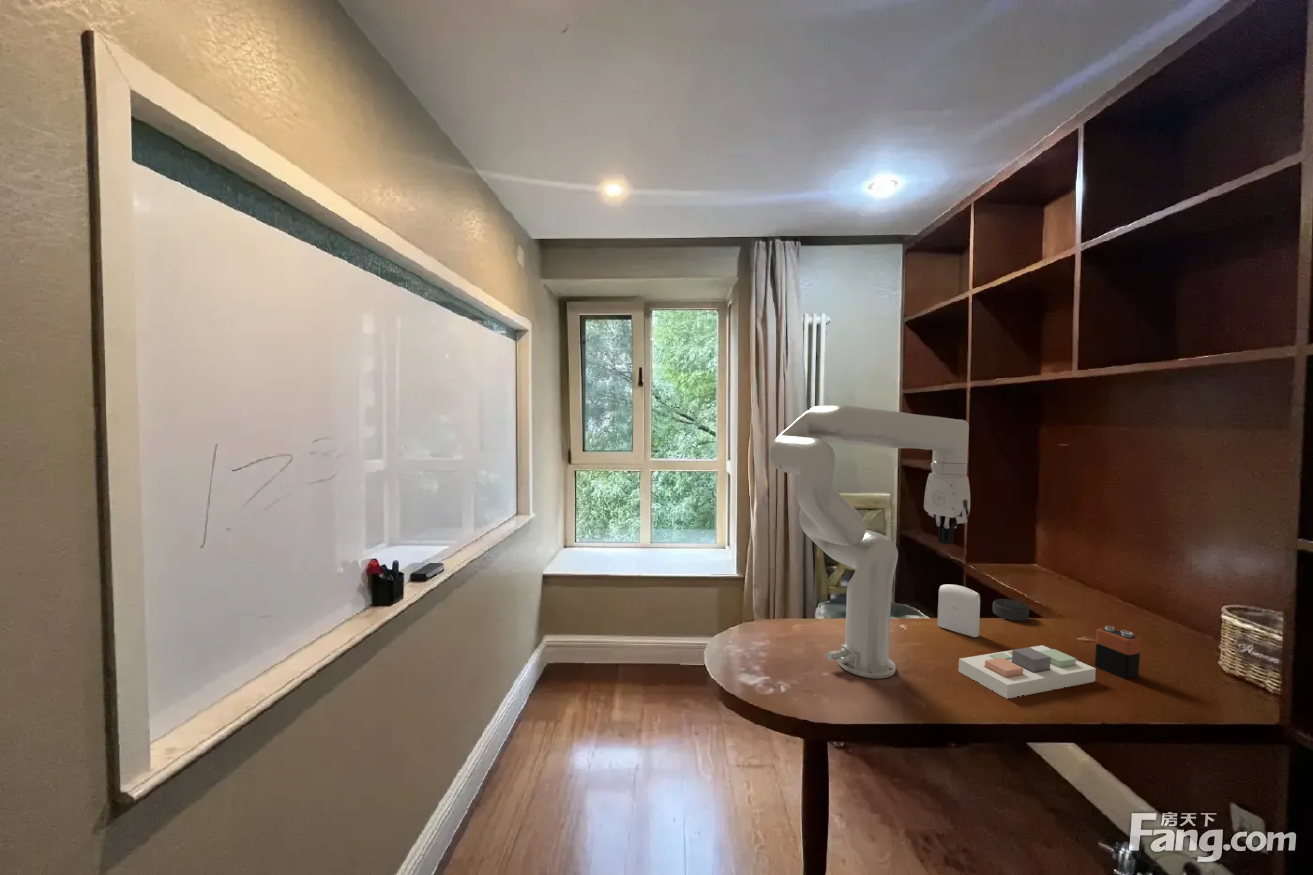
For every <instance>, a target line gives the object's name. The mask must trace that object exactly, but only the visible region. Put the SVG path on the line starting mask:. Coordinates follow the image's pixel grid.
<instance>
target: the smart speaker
mask: <svg viewBox="0 0 1313 875" xmlns="http://www.w3.org/2000/svg"><path fill="white" fill-rule="evenodd" d="M992 613H993V614H994V615H995V616H997V617H998V618H1000V619H1004V620H1007V619H1012V620H1010V621H1012V622H1025V621H1027V620H1029V618H1030V617H1029V616H1030V608H1029V606H1028V605H1027V604H1025V603H1023V602H1020V601H1017V600H1013V599H1008V598H998V599H994V601H993V602H992Z"/></svg>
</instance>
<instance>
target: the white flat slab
mask: <svg viewBox="0 0 1313 875" xmlns="http://www.w3.org/2000/svg"><path fill="white" fill-rule="evenodd" d="M1029 647H1030V648H1032V649H1034V650H1036V651H1044V650H1050V649H1051V648H1050V647H1048V646H1046V645H1036V646H1029ZM1012 650H1013V649H1011V650H1005V651H1004V650H1003V651H999V652H998V651H997V652H993V653H991V652H990V653H986V654H979V655H974V656H968V657H967V656H966V657H959V659H958V672H959V673H961V674H962V675H964V676H965V677H968V678H970V679H971V680H973V681H974V680H975V681H974V682H976V681H977V682H976V683H978V682H979V683H978V684H979V685H981V686H982V687H983V686H984V687H986V688H987V689H989V690H990V691H992V690H993V691H992V692H995V693H996V694H997V695H999V696H1001V697H1003V698H1004V697H1005V698H1004V699H1008V698H1009V699H1014V698H1018V697H1017V696H1019V697H1023V696H1022V695H1024V696H1028V695H1033V694H1037V693H1045V692H1049V691H1053V690H1054V689H1055V690H1059V689H1064V687H1065V688H1069V687H1073V686H1074V687H1075V686H1080V685H1084V684H1090V683H1094V682H1096V671H1097V670H1096V669H1097V668H1096V667H1093V666H1092V665H1091V666H1090V665H1088V664H1087V663H1084V662H1082V661H1079V660H1077V659H1076V666H1071V667H1065V668H1058V667H1056V666H1054V665H1052V664H1050V670H1049V671H1043V672H1038V673H1032V672H1030V671H1028V670H1026V669H1024V668H1023V675H1021V676H1016V677H1010V678H1004V677H1002V676H1001V675H999V674H997V673H995V672H993V671H991V670H989V669H987V668H985V660H990V659H997V658H1004V659H1006V660H1008V661H1010V662H1012Z"/></svg>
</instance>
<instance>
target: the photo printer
mask: <svg viewBox="0 0 1313 875" xmlns="http://www.w3.org/2000/svg"><path fill="white" fill-rule="evenodd" d="M937 605H938V606H937V626H938V628H941V629H946V630H949V631H952V632H954V633H958V634H962V635H965V636H968V637H972V638H977V637H979V636H980V618H981V617H980V616H981V614H980V613H981V596H980V593H978V592H977V591H975V590H973V589H971V588H968V587H966V586H964V585H963V586H962V585H958V584H942V585H940V586H939V589H938V603H937Z"/></svg>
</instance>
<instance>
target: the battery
mask: <svg viewBox="0 0 1313 875" xmlns="http://www.w3.org/2000/svg"><path fill="white" fill-rule="evenodd" d="M1095 638H1096V639H1095V652H1094V654H1095V657H1094V666H1095V668H1096V667H1097V668H1099V669H1101V670H1104V671H1106V672H1109V673H1111V674H1113V675H1115V676H1118V677H1121V678H1122V679H1126V680H1129V679H1132V678H1136V677H1139V671H1140V659H1141V658H1140V656H1141V655H1140V654H1141V644H1142V643H1141V642H1142V639H1141V638H1140V637H1139V636H1136V635H1134V633H1133V632H1131V631H1128V630H1125V629H1124V630H1123V629H1122V630H1119V629H1115V627H1114V626H1113V625H1112V626H1110V625H1105V627H1102V628H1098V629H1096V637H1095Z"/></svg>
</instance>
